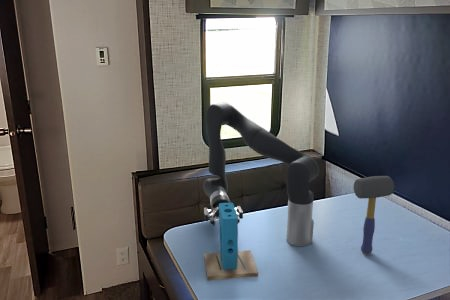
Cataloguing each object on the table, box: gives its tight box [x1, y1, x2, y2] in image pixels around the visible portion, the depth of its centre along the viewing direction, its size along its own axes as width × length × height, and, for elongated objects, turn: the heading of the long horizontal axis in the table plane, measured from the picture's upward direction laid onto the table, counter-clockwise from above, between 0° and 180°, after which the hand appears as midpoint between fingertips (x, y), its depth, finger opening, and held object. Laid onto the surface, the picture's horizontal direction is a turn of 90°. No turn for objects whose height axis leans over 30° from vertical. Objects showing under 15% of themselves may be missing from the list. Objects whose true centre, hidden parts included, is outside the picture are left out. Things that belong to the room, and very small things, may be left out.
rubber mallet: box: [353, 175, 395, 256], centre depth 155 cm, size 12×8×30 cm, turn 103°
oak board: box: [203, 249, 259, 281], centre depth 151 cm, size 17×14×2 cm
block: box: [218, 202, 239, 270], centre depth 148 cm, size 12×5×20 cm, turn 7°
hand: (225, 222), depth 156 cm, fingers open, 8 cm apart
